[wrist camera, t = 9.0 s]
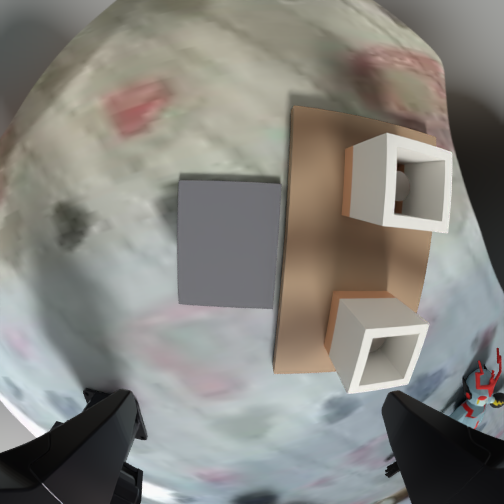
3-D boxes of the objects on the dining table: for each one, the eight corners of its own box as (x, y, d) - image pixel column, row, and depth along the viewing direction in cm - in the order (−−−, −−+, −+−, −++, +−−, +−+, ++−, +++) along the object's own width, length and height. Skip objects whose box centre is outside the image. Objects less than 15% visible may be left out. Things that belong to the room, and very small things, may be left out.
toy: (381, 517, 23) (427, 437, 16) (371, 487, 31) (395, 388, 23) (493, 453, 23) (558, 333, 15) (477, 431, 30) (526, 311, 23)
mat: (272, 306, 20) (272, 308, 20) (179, 301, 20) (178, 303, 20) (280, 184, 18) (281, 184, 18) (180, 180, 18) (178, 180, 18)
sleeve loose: (400, 159, 17) (451, 152, 11) (396, 220, 18) (447, 233, 12) (345, 148, 17) (386, 132, 11) (341, 215, 18) (382, 226, 12)
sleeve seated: (374, 342, 20) (408, 384, 14) (323, 345, 20) (347, 394, 14) (387, 290, 19) (429, 323, 13) (333, 290, 19) (365, 329, 13)
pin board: (395, 357, 22) (418, 384, 17) (272, 365, 22) (278, 402, 17) (427, 139, 18) (463, 131, 13) (291, 110, 17) (304, 87, 13)
